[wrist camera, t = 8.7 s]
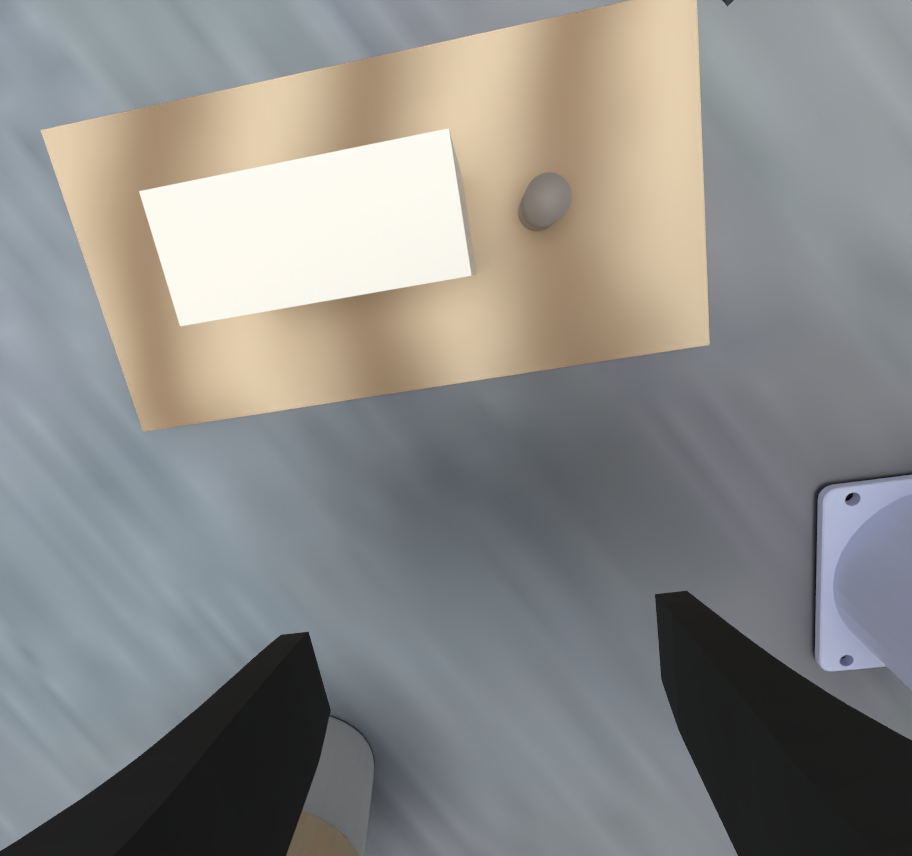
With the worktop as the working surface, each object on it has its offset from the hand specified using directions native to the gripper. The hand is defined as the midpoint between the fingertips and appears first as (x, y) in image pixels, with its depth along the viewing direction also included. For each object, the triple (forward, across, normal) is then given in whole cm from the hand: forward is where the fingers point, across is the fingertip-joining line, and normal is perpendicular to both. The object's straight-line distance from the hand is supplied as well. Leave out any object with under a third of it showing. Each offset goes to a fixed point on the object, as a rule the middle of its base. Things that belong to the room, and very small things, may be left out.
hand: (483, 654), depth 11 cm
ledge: (+10, +2, -9) cm, 14 cm away
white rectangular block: (+9, +3, -9) cm, 13 cm away
